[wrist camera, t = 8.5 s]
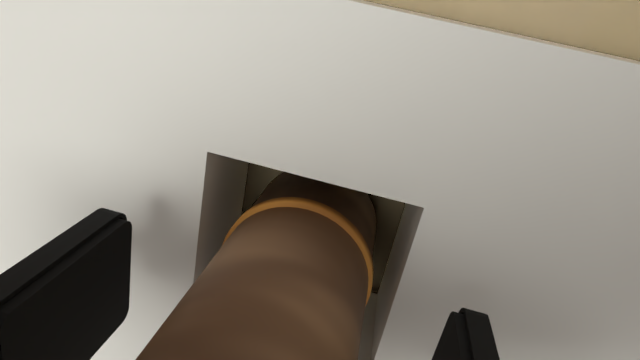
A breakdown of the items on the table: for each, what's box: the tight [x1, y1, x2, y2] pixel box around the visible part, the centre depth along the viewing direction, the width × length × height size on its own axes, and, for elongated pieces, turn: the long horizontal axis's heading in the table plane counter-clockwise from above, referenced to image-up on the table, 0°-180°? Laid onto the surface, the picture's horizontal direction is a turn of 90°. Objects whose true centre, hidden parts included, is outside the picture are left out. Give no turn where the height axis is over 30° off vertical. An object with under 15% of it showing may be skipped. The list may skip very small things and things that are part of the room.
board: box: [0, 0, 640, 360], centre depth 14 cm, size 20×14×4 cm
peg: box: [136, 172, 376, 360], centre depth 10 cm, size 4×4×12 cm
